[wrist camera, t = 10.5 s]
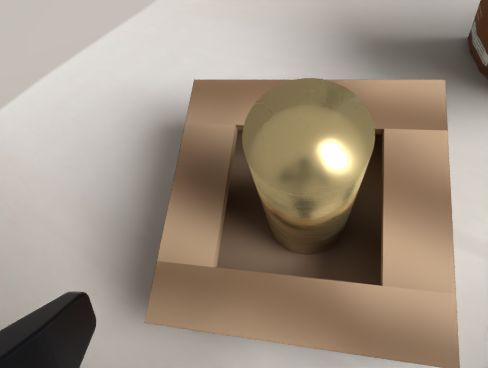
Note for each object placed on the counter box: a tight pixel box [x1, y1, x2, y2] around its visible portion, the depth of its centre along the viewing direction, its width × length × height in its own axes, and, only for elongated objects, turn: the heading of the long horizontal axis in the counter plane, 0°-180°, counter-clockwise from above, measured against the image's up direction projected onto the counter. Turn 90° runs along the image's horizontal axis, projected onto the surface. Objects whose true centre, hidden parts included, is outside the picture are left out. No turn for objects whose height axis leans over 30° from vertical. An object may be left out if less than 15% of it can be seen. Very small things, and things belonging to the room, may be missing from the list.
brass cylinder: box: [242, 78, 375, 254], centre depth 18 cm, size 4×4×10 cm
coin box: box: [144, 80, 460, 368], centre depth 20 cm, size 13×13×5 cm
